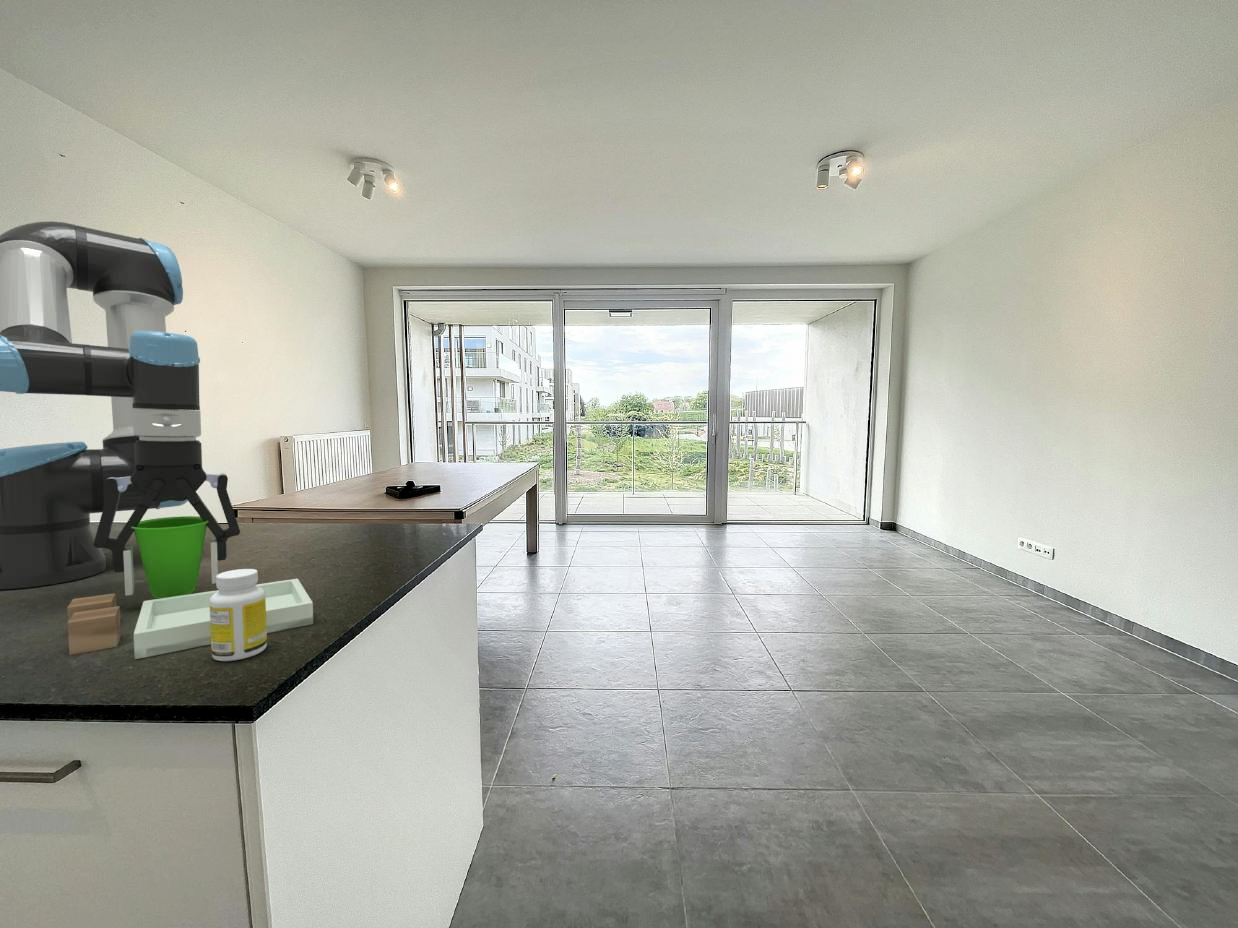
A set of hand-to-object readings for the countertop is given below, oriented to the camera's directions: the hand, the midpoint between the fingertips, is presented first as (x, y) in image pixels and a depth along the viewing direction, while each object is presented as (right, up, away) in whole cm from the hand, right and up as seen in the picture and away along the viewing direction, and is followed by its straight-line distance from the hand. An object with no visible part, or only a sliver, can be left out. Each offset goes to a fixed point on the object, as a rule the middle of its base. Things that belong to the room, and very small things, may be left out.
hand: (174, 586), depth 77 cm
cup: (0, -1, 0) cm, 1 cm away
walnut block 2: (+3, -4, -15) cm, 15 cm away
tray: (+14, -3, -7) cm, 16 cm away
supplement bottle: (+22, -4, -16) cm, 27 cm away
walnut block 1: (-2, -3, -10) cm, 11 cm away
